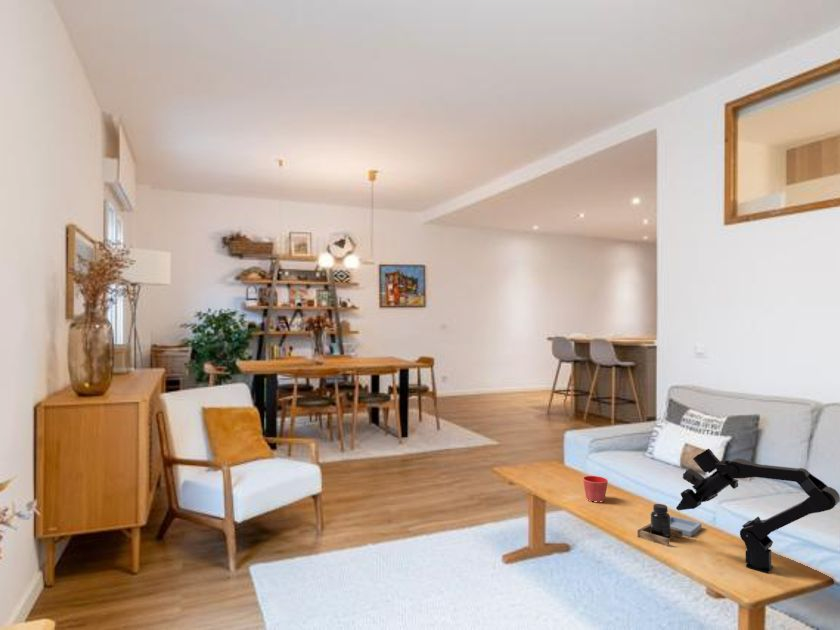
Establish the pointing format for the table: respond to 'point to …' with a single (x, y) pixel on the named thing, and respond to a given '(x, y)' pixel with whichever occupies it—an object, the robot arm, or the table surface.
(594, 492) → the flower pot
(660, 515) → the supplement bottle
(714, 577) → the table surface
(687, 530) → the tray
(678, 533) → the cradle
